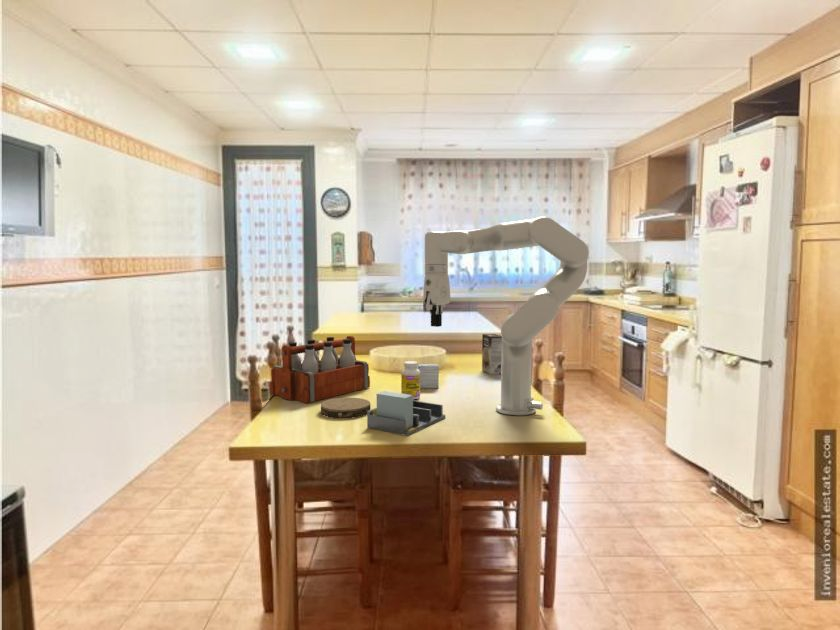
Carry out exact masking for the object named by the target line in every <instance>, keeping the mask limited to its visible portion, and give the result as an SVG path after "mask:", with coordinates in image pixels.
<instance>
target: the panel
mask: <svg viewBox="0 0 840 630" xmlns="http://www.w3.org/2000/svg"><path fill="white" fill-rule="evenodd" d="M376 408H377V415H378V416H384V417H389V418H395V419H400V420H406V429H407V428H409V427H411V426H413V395H408V394H401V392H393V391H386V390H384V391H381V392H378V393H376Z"/></svg>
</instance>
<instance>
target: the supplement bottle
mask: <svg viewBox="0 0 840 630" xmlns="http://www.w3.org/2000/svg"><path fill="white" fill-rule="evenodd" d="M403 365H404V368H403V369H402V370H401V372H400V373H401V376H400V377H401V380H400V381H401V384H400V385H401V388H400V389H401V392H400V393H401V394H408V395H413V400H414V399H417V400H419V399H420V398H421V388H420V370H418V361H415V360H414V361H413V360H408V361H407V360H406V361H404V363H403Z"/></svg>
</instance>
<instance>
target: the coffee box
mask: <svg viewBox="0 0 840 630" xmlns="http://www.w3.org/2000/svg"><path fill="white" fill-rule="evenodd" d="M481 338H482V339H481V340H482V343H481V344H482V345H481V346H482V348H481V349H482V350H481V351H482V352H481V353H482V355H481V365H482V366H481V367H482V368H481V369H482V370H481V371H483V372H486V373H487V374H489V375H498V374H499V373H501V363H502V335H501V334H497V333H482V337H481ZM499 375H500V374H499Z"/></svg>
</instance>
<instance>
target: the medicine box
mask: <svg viewBox="0 0 840 630" xmlns="http://www.w3.org/2000/svg"><path fill="white" fill-rule="evenodd" d="M417 369H418V370H420V389H439V387H440V386H439V385H440V384H439V381H440V380H439V374H440V373H439V372H440V371H439V364H437V363H425V364H424V363H422V364H418V366H417Z"/></svg>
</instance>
